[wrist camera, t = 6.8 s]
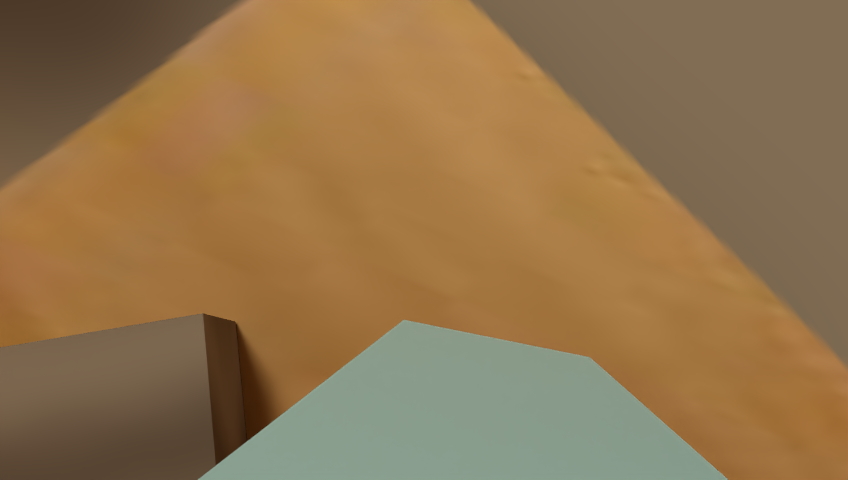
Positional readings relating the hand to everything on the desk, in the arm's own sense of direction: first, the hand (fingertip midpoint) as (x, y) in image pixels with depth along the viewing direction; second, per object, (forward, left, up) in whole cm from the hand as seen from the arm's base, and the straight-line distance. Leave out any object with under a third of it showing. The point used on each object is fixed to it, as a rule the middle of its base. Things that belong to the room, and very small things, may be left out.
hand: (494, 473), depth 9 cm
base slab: (+2, +12, -13) cm, 18 cm away
